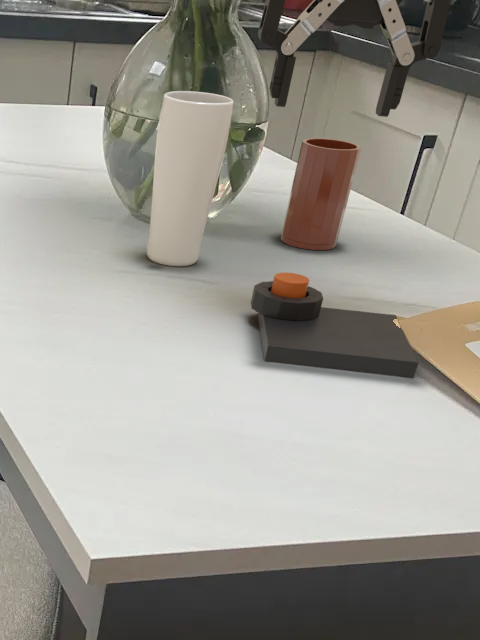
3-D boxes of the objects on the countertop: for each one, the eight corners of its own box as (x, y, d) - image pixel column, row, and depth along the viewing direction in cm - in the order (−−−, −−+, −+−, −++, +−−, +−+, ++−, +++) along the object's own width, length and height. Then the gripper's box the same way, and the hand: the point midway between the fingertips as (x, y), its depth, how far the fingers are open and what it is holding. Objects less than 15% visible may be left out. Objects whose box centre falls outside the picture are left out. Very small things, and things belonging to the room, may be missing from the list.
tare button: (303, 292, 95) (307, 274, 94) (306, 302, 93) (310, 284, 92) (269, 288, 95) (273, 270, 94) (271, 298, 93) (275, 280, 92)
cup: (332, 238, 121) (357, 141, 115) (338, 252, 116) (364, 152, 110) (278, 232, 121) (300, 136, 115) (282, 246, 117) (305, 146, 111)
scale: (389, 327, 97) (399, 293, 95) (413, 379, 87) (425, 342, 85) (246, 311, 98) (253, 278, 96) (252, 360, 88) (260, 324, 86)
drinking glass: (135, 249, 113) (159, 88, 104) (199, 253, 113) (228, 93, 104) (142, 268, 107) (167, 100, 98) (209, 272, 107) (240, 105, 98)
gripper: (299, -139, 78) (249, 110, 87) (498, -124, 77) (426, 126, 87) (287, -137, 84) (241, 95, 93) (471, -123, 83) (406, 110, 93)
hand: (330, 110), depth 90 cm, fingers open, 8 cm apart
